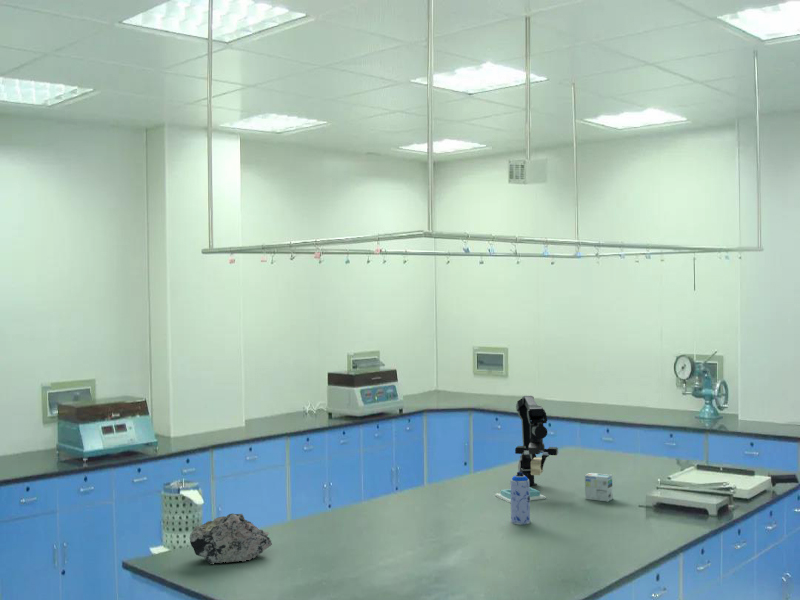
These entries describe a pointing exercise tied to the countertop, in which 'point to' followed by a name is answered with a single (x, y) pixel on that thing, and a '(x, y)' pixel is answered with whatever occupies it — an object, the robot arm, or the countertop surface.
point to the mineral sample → (229, 539)
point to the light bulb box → (598, 487)
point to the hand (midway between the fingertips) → (536, 469)
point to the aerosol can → (520, 499)
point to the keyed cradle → (507, 495)
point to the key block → (536, 466)
